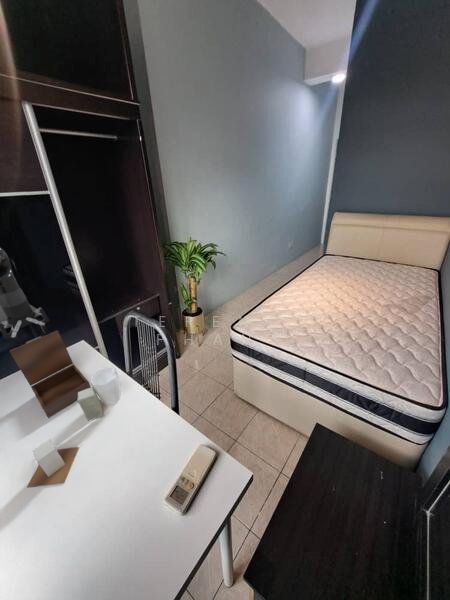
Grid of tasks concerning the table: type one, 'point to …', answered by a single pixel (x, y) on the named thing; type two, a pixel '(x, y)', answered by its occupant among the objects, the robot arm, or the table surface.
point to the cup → (107, 385)
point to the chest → (60, 390)
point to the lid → (42, 357)
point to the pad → (60, 475)
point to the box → (90, 403)
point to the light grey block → (48, 457)
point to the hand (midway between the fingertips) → (32, 338)
